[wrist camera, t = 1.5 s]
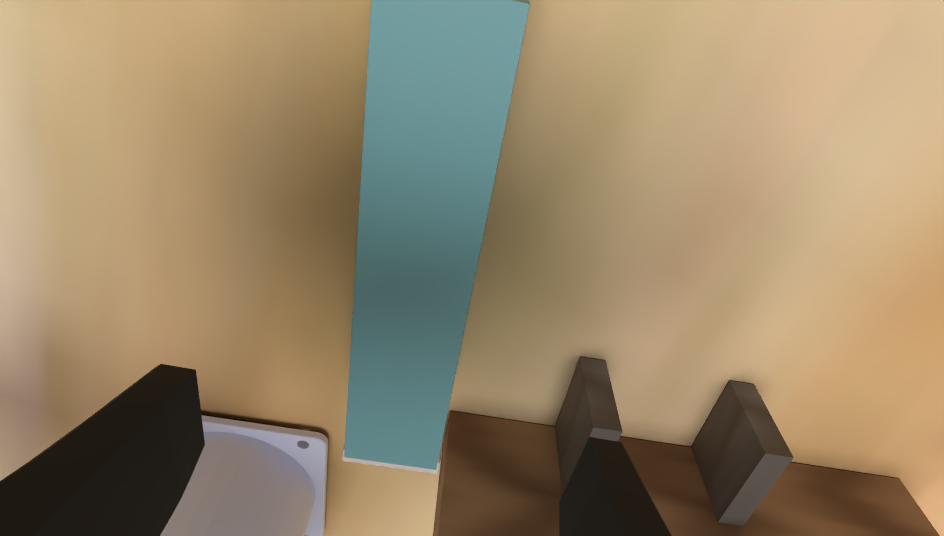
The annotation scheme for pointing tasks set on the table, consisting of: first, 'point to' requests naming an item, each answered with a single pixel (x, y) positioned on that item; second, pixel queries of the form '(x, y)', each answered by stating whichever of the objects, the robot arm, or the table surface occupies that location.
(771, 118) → the table surface
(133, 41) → the table surface
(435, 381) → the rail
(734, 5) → the table surface
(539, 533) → the brown wooden bar
